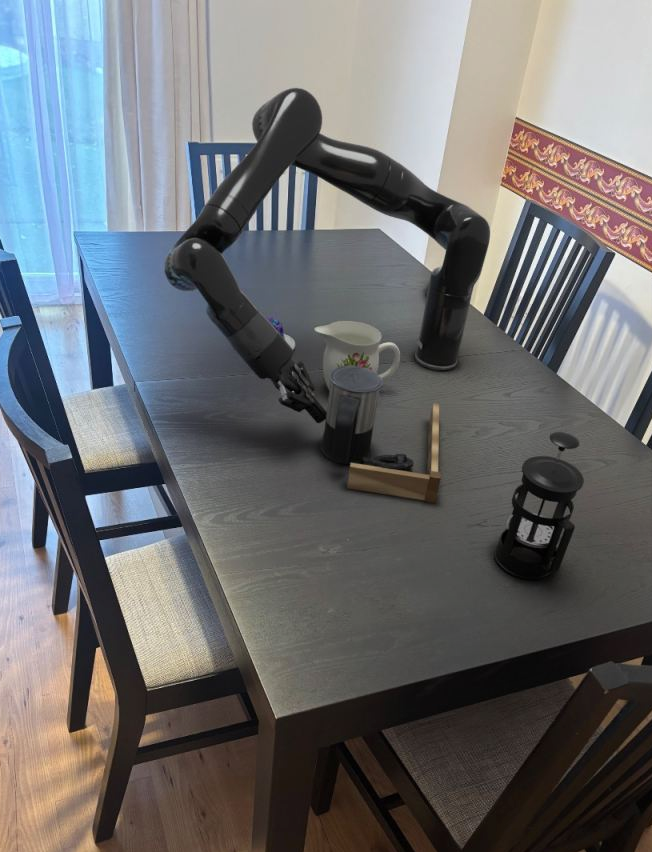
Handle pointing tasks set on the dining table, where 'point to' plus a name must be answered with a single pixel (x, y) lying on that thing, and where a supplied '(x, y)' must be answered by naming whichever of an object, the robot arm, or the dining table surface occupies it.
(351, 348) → the pitcher
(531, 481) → the french press
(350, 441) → the milk frother
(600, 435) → the dining table surface
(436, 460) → the corner rail
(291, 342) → the pudding
